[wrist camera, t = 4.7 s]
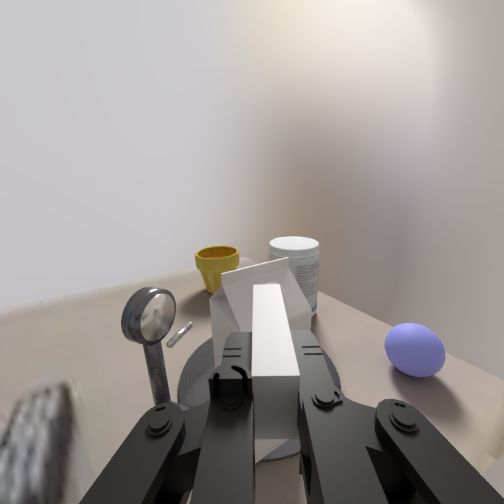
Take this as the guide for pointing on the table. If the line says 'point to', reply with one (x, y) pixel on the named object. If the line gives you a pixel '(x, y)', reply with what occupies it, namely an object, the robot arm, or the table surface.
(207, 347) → the turntable
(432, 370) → the sphere
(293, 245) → the supplement tub
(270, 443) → the milk carton
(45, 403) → the table surface
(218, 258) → the plant pot
